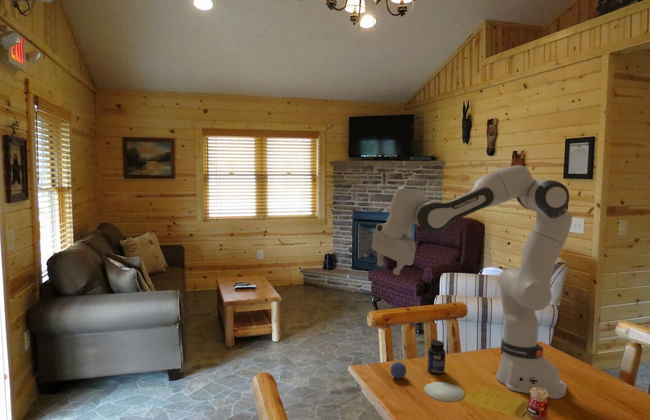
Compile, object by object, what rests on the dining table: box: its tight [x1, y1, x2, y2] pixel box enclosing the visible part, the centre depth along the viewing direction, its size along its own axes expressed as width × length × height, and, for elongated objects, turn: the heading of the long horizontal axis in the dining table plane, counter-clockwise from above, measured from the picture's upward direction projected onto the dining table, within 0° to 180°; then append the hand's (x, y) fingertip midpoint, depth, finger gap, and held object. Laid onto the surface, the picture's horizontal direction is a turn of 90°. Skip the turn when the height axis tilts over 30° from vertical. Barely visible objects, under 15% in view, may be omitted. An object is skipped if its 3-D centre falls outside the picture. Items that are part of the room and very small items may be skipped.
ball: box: [390, 361, 407, 379], centre depth 162 cm, size 6×6×6 cm
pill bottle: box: [427, 339, 446, 376], centre depth 167 cm, size 6×6×11 cm
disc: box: [423, 381, 465, 403], centre depth 152 cm, size 13×13×1 cm
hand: (387, 270), depth 158 cm, fingers open, 8 cm apart
